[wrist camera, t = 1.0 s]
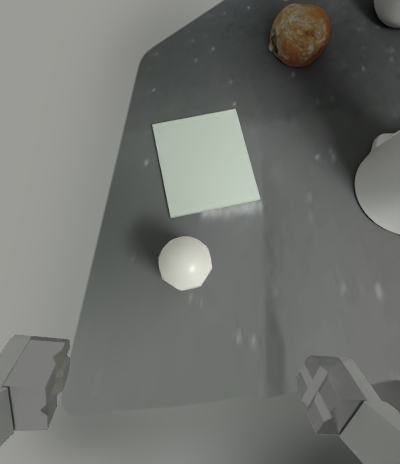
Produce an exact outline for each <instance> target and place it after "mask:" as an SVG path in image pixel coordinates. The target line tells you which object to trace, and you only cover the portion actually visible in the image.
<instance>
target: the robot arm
mask: <svg viewBox="0 0 400 464" xmlns="http://www.w3.org/2000/svg"><path fill="white" fill-rule="evenodd" d="M355 191H356V196H357V199H358V201H359V203H360V205H361V207H362V209H363V210H364V212H365V213H366V214H367V215H368V217H369V218H370V219H372V220H373V221H374V222H375V223H376V224H378V225H379V226H381V227H382V228H384V229H386V230H389V231H391V232H394V233H397V234H399V235H400V130H399V131H398V132H396V133H394V134H381V135H380V136H378V137H377V138H376V139H375V140H374V142H373V145H372V149H371V152H370V153H369V155H368V156H367V157H366V158H365V159H364V160H363V161H362V163H361V164H360V166H359V168H358V170H357V173H356V177H355ZM69 348H70V342H69V340H68V339H57V338H48V337H37V336H24V335H15V336H14V337H12V338H11V339H10V340H9V342H8V343H7V345H6V346H5V348H4V349H3V350H2V352H1V354H0V446H1V445H2V444H3V443H4V442H5V441H6V440H7V439H8V438H9V437H10V436H11V435H12V434H13V433H14V431H24V430H48V428H49V425H50V422H51V420H52V417H53V415H54V412H55V410H56V407H57V395H58V394H59V393H61V392H62V391H63V388H64V385H65V383H66V379H67V375H68V371H69V364H70V358H69V357H68V356H67V353H68V351H69ZM304 363H305V365H306V367H305V368H304V369H302V370H301V371H300V372H299V375H298V377H297V389H298V393H299V395H300V397H301V400H302V401H303V402H304V403H305V404H306V405H307V406H308V411H307V414H308V416H309V418H310V421H311V423H312V425H313V427H314V430H315V432H316V434H328V435H330V434H331V435H340V438H341V439H342V440H343V441H344V442H345V443H346V444H347V446H348V447H349V448H350V449H351V450H352V451H353V453H354V454H355V455H356V456H357V457H358V458H359V459H360V460H361V462H362V463H363V464H400V412H398V411H397V410H396V409H394V408H393V407H392V406H391V405H389V404H388V403H386V402H382V401H381V400H380V399H379V397H378V395H377V394H376V393H375V391H374V390H373V388H372V387H371V385H370V384H369V382H368V381H367V380H366V378H365V377H364V375H363V374H362V373H361V371H360V370H359V368H358V367H357V365H356V364H355V363H354V361H353V360H351V359H350V358H343V357H330V356H312V355H311V356H309V357H307V359H306V361H305V362H304Z"/></svg>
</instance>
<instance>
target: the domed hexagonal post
mask: <svg viewBox="0 0 400 464" xmlns="http://www.w3.org/2000/svg"><path fill="white" fill-rule="evenodd" d="M158 259H159V269H160V272H161V276H162V279H163V280H165V281H166V282H168V283H169V284H170V285H172V286H174V287H175V288H177V289H178V290H180V291H181V290H188V289H192V288H197V287H201V285H202V283H203V282H204V280H205V279H206V277H207V276H208V274H209V272H210V271H211V269H212V264H211V258H210V254H209V251H208V247H207V246H205V245H204V244H203V243H202V242H200V241H199V240H197V239H195V238H193V237H191V236H189V237H187V236H183V237H178V238H175V239H173V240H170V241H169V242H168V243H167V244H166V245H165V246H164V248H163V249H162V251H161V253H160V256H159V257H158Z"/></svg>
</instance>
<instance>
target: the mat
mask: <svg viewBox="0 0 400 464" xmlns="http://www.w3.org/2000/svg"><path fill="white" fill-rule="evenodd" d="M152 126H153V131H154V136H155V141H156V146H157V151H158V156H159V161H160V166H161V172H162V177H163V182H164V187H165V192H166V197H167V202H168V207H169V212H170V217H171V218H175V217H180V216H185V215H189V214H194V213H199V212H204V211H209V210H214V209H219V208H223V207H228V206H233V205H238V204H243V203H248V202H253V201H257V200H260V196H259V193H258V189H257V185H256V182H255V178H254V174H253V171H252V167H251V163H250V160H249V156H248V152H247V149H246V145H245V142H244V138H243V134H242V131H241V127H240V123H239V120H238V116H237V112H236V109H232V110H227V111H222V112H216V113H211V114H206V115H200V116H195V117H190V118H184V119H179V120H174V121H168V122H163V123H158V124H152Z"/></svg>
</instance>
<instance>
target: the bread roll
mask: <svg viewBox="0 0 400 464" xmlns="http://www.w3.org/2000/svg"><path fill="white" fill-rule="evenodd" d="M330 33H331V29H330V22H329V19H328V16H327V14H326V12H325V11H324V10H323V9H322V8H321V7H318V6H315V5H314V4H310V5H305V4H296V3H293V4H290V5H288V6H286V7H285V8H283V9H282V10H281V12H280V13H279V14H278V15H277V17H276V19H275V20H274V22H273V26H272V29H271V34H270V44H269V50H270V51H271V52H273V53H274V54H275V55H276V57H277V58H278V59H280V60H281V61H282V62H283V63H284V64H286V65H288V66H290V67H304V66H307V65H309V64H310V63H312V61H314V60H315V59H316V58H317V57H318V56H319V55H320V54H321V53H322V52H323V50H324V49H325V48H326V46H327V44H328V42H329V38H330Z"/></svg>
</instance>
